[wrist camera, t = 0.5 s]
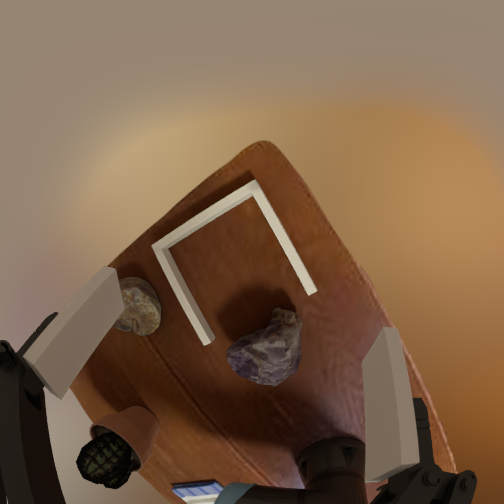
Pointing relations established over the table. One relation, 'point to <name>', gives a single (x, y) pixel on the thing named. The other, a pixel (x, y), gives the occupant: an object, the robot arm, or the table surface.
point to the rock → (269, 350)
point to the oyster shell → (138, 307)
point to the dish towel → (198, 492)
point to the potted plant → (118, 446)
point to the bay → (203, 219)
